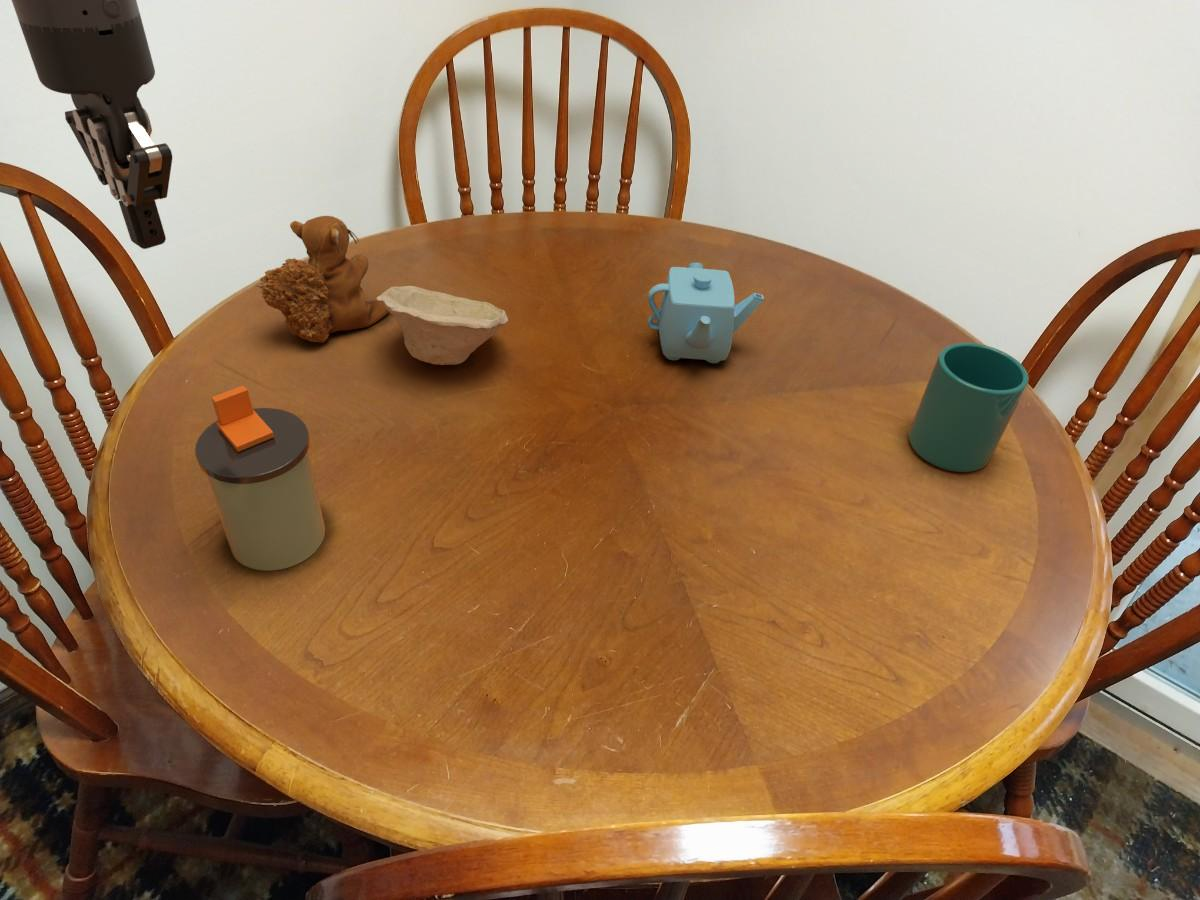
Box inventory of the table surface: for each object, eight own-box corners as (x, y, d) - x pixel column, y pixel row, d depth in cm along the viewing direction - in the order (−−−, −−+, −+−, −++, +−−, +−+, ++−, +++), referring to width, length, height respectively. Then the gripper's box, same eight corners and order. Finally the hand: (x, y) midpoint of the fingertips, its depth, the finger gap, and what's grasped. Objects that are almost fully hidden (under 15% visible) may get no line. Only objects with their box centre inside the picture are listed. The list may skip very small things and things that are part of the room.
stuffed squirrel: (396, 310, 109) (386, 214, 101) (322, 364, 99) (303, 264, 91) (334, 288, 112) (319, 194, 104) (257, 338, 102) (233, 239, 94)
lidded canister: (210, 530, 79) (176, 433, 71) (300, 489, 84) (278, 394, 76) (253, 589, 74) (222, 492, 66) (346, 542, 79) (327, 446, 71)
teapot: (642, 305, 114) (649, 236, 107) (745, 313, 114) (759, 245, 108) (642, 385, 100) (651, 312, 94) (760, 394, 101) (777, 321, 94)
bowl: (529, 344, 105) (530, 272, 99) (470, 405, 96) (466, 330, 89) (427, 311, 110) (421, 240, 103) (360, 366, 100) (349, 291, 93)
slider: (217, 427, 72) (208, 398, 70) (253, 413, 74) (245, 384, 72) (237, 452, 70) (229, 422, 68) (274, 437, 72) (267, 407, 69)
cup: (973, 411, 101) (1009, 332, 93) (998, 479, 92) (1040, 397, 84) (896, 403, 101) (926, 323, 94) (914, 469, 92) (948, 387, 85)
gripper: (-18, -1, 60) (67, 231, 70) (61, 37, 53) (141, 286, 64) (92, -13, 64) (156, 207, 75) (177, 21, 57) (234, 256, 68)
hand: (149, 243), depth 69 cm, fingers closed
